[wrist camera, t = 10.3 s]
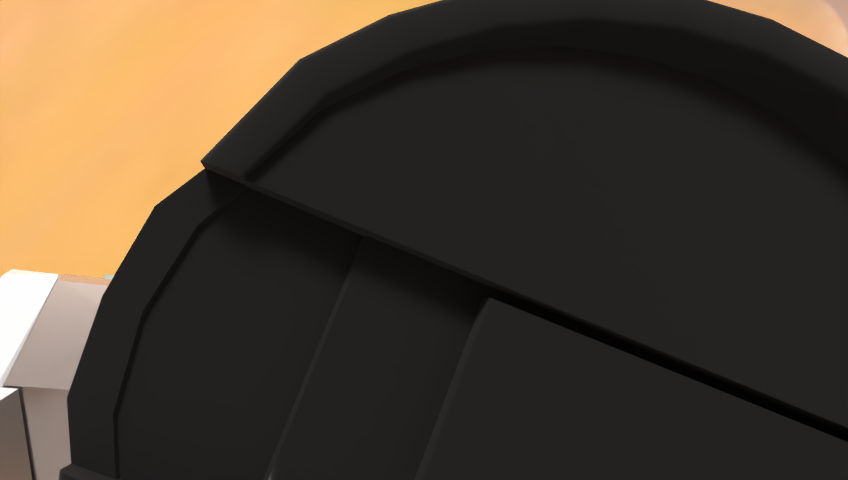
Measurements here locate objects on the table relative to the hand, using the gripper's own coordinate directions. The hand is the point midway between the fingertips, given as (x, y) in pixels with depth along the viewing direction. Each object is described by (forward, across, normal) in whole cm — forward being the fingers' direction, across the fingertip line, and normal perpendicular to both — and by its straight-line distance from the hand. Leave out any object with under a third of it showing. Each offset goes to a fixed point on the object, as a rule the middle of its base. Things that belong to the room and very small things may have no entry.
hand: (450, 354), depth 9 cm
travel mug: (+11, 0, +10) cm, 15 cm away
